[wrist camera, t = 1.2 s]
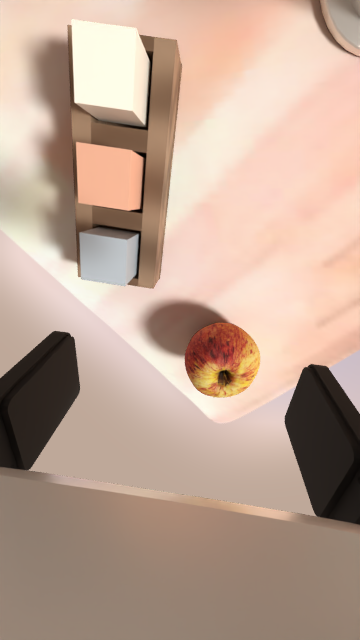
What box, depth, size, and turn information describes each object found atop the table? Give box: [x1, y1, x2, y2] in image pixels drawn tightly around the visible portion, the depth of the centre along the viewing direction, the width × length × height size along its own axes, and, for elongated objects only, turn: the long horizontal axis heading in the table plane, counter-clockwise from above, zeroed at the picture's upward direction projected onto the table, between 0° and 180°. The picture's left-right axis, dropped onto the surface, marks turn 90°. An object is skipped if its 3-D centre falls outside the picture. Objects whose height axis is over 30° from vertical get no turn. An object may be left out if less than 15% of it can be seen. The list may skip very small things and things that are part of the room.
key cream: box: [71, 19, 151, 127], centre depth 21 cm, size 4×4×5 cm
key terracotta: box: [76, 142, 145, 211], centre depth 24 cm, size 4×4×5 cm
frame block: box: [67, 25, 182, 289], centre depth 27 cm, size 21×9×4 cm, turn 172°
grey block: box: [79, 227, 140, 286], centre depth 27 cm, size 4×4×5 cm
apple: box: [185, 323, 260, 397], centre depth 32 cm, size 9×9×10 cm
